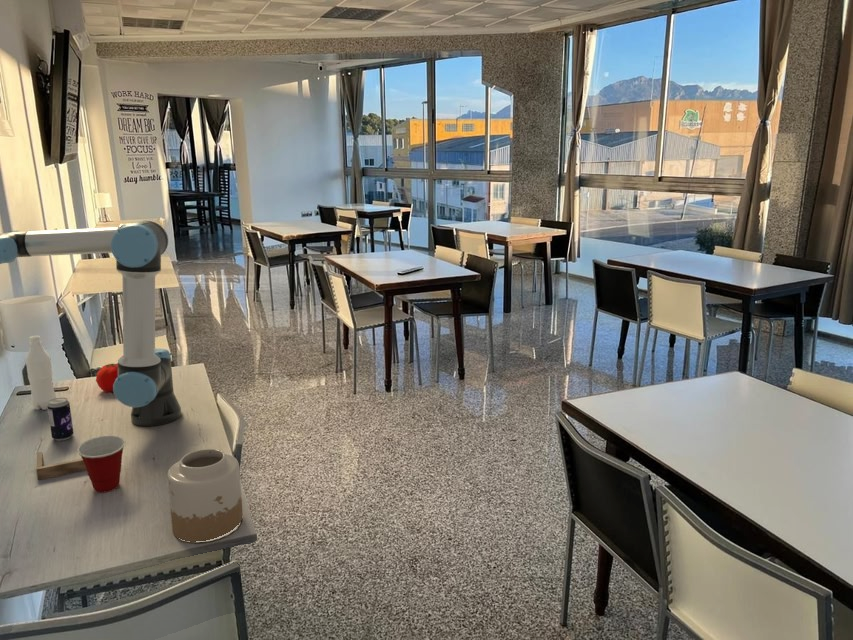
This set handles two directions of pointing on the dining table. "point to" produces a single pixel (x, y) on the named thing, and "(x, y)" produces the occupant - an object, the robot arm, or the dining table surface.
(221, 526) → the vase
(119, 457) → the plastic cup
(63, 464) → the corral
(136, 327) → the robot arm
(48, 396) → the water bottle
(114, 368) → the tomato
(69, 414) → the beverage can
